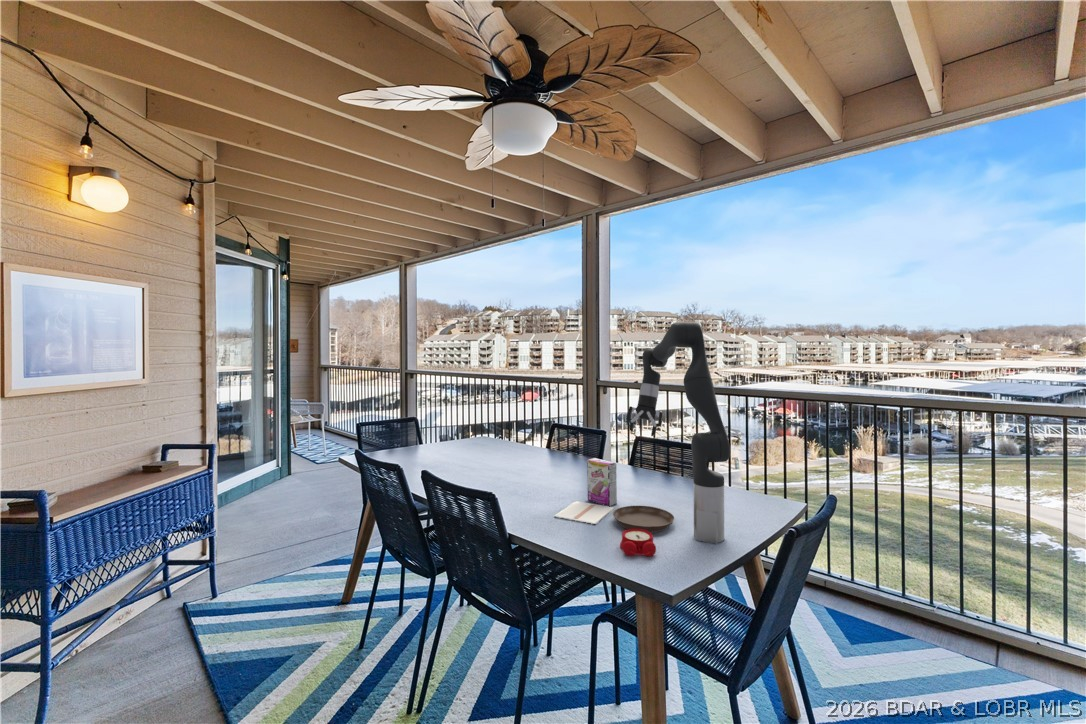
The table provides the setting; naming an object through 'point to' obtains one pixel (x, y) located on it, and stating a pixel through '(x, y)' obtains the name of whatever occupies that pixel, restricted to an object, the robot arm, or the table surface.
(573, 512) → the card
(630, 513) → the plant saucer
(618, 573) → the table surface
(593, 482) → the candy bar box
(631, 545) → the alarm clock
